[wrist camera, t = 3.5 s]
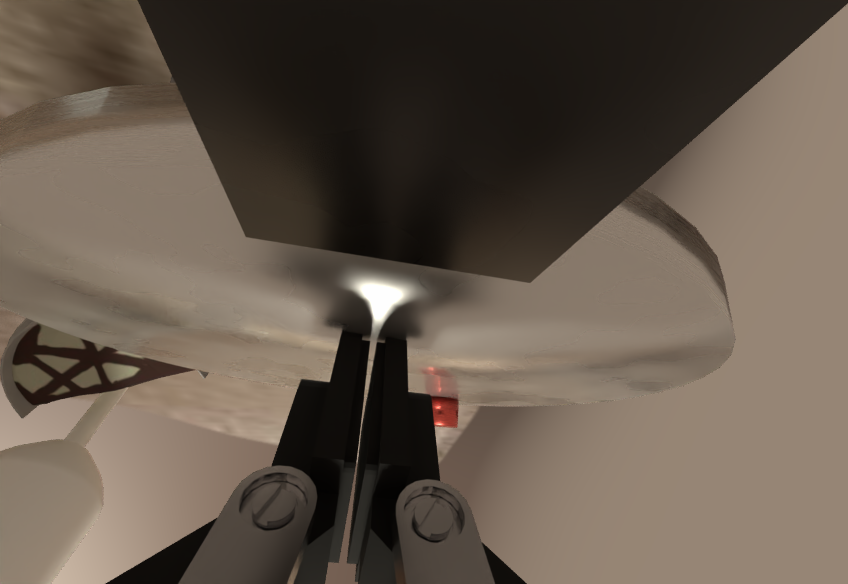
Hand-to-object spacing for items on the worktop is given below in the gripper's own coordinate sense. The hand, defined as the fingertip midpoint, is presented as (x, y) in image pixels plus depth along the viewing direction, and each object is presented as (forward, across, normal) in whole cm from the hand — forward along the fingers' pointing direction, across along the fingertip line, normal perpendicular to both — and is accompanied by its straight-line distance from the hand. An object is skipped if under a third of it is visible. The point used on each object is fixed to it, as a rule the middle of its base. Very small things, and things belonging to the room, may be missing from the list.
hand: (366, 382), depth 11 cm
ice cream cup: (+21, +15, +9) cm, 27 cm away
